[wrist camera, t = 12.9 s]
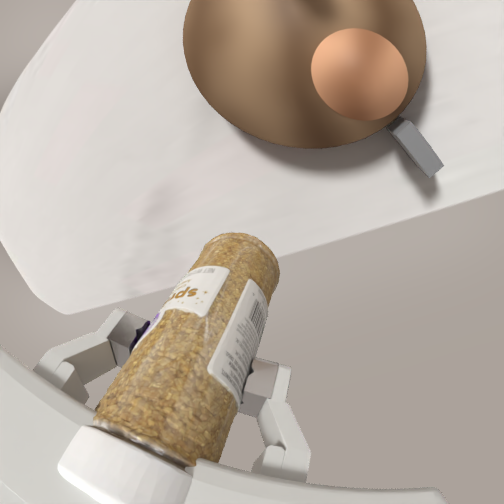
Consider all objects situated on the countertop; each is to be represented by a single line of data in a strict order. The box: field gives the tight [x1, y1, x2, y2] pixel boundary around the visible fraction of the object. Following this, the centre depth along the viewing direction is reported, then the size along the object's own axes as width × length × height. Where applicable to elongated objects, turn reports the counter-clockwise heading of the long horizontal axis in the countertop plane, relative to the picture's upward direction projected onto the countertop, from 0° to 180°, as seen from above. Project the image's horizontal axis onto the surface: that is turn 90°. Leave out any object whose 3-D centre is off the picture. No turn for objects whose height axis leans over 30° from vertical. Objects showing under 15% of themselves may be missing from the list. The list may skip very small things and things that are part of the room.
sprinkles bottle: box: [58, 233, 280, 504], centre depth 11 cm, size 5×5×14 cm
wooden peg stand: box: [183, 0, 426, 149], centre depth 14 cm, size 18×18×8 cm
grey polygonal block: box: [386, 117, 444, 178], centre depth 19 cm, size 4×2×4 cm, turn 49°
